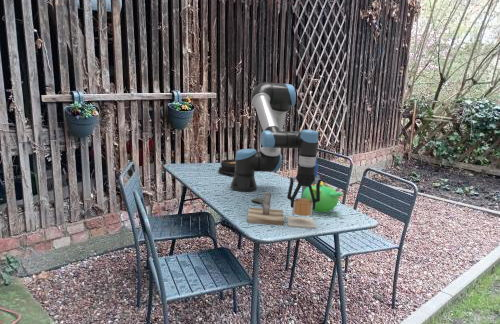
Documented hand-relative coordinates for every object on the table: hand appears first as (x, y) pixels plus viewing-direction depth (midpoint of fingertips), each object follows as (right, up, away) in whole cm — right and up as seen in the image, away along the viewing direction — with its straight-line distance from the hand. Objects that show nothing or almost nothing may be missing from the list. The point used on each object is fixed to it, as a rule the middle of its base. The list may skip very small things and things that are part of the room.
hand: (301, 215), depth 172 cm
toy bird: (+11, -1, +20) cm, 23 cm away
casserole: (-36, +16, +92) cm, 100 cm away
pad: (0, -4, +1) cm, 4 cm away
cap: (0, +1, 0) cm, 1 cm away
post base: (-16, -2, +4) cm, 17 cm away
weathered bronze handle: (-17, +1, +22) cm, 28 cm away
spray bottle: (+9, +2, +38) cm, 39 cm away
